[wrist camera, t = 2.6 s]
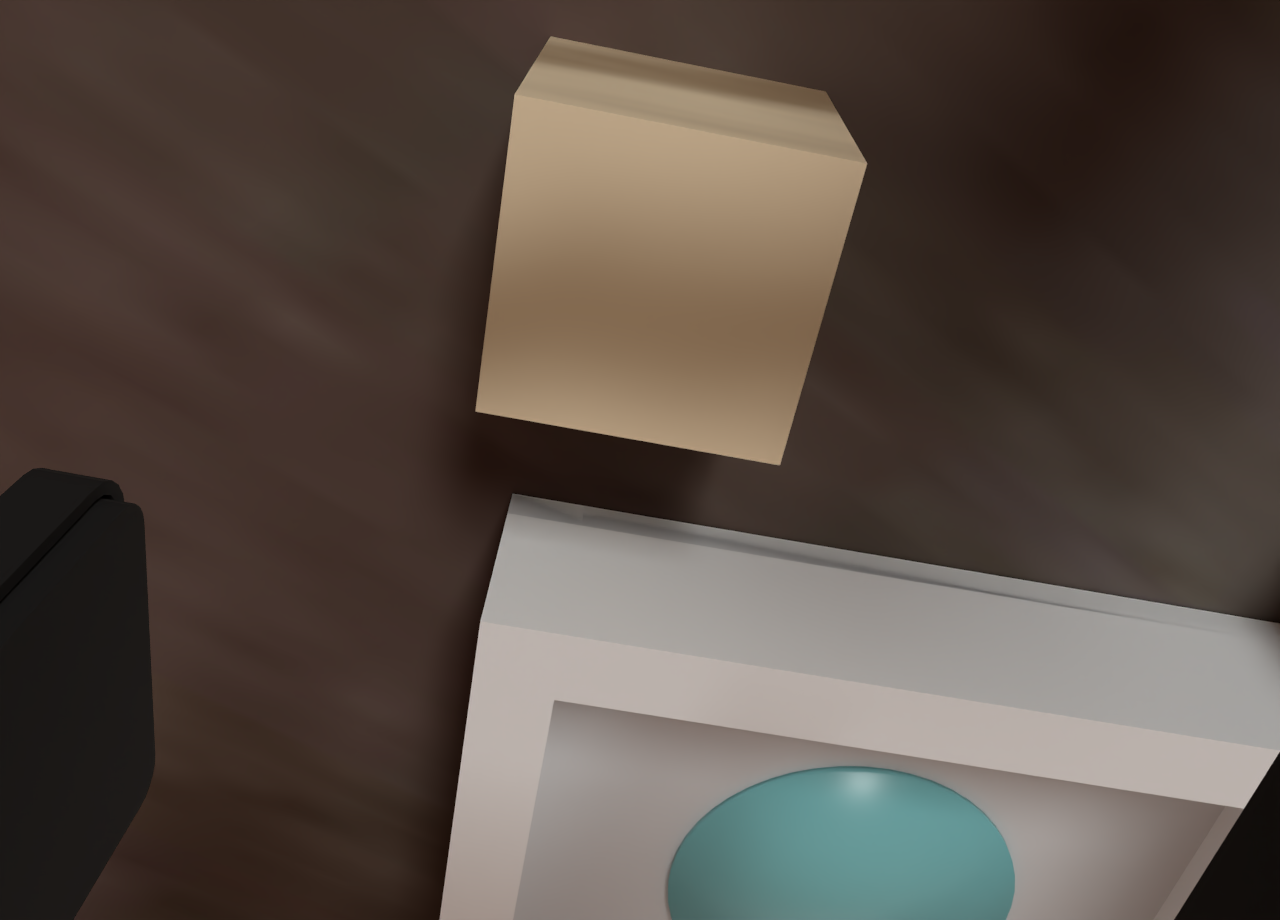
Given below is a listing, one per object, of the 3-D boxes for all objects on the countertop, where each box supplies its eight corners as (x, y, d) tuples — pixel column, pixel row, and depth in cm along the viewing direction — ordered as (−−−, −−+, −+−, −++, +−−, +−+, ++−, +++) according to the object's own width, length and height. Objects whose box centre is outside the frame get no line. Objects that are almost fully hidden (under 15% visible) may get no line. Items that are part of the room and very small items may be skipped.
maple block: (550, 35, 19) (514, 94, 15) (825, 90, 20) (867, 163, 15) (515, 296, 22) (475, 411, 18) (759, 341, 22) (779, 465, 18)
